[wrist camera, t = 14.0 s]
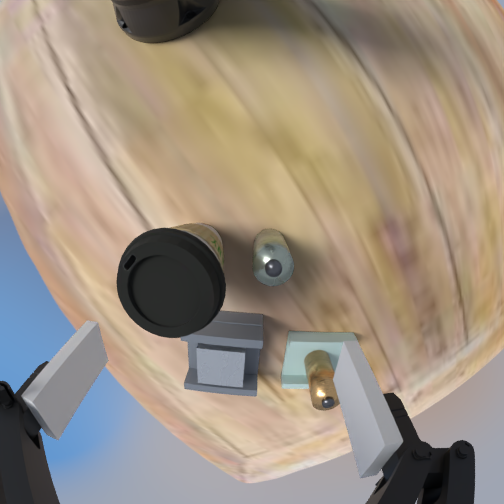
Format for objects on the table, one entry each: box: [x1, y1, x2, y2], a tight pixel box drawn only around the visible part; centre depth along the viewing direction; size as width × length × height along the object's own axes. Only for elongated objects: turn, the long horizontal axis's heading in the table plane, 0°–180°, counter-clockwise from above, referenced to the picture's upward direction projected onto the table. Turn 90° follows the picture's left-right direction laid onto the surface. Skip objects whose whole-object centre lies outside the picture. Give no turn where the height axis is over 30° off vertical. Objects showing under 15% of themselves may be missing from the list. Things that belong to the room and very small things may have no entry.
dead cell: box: [253, 229, 294, 286], centre depth 31 cm, size 4×4×10 cm
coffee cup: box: [117, 223, 226, 338], centre depth 28 cm, size 10×10×15 cm
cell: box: [304, 350, 340, 410], centre depth 35 cm, size 4×4×10 cm
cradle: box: [181, 311, 263, 396], centre depth 36 cm, size 10×10×6 cm
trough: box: [281, 331, 359, 389], centre depth 39 cm, size 9×10×3 cm
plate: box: [196, 343, 246, 387], centre depth 34 cm, size 6×6×2 cm
